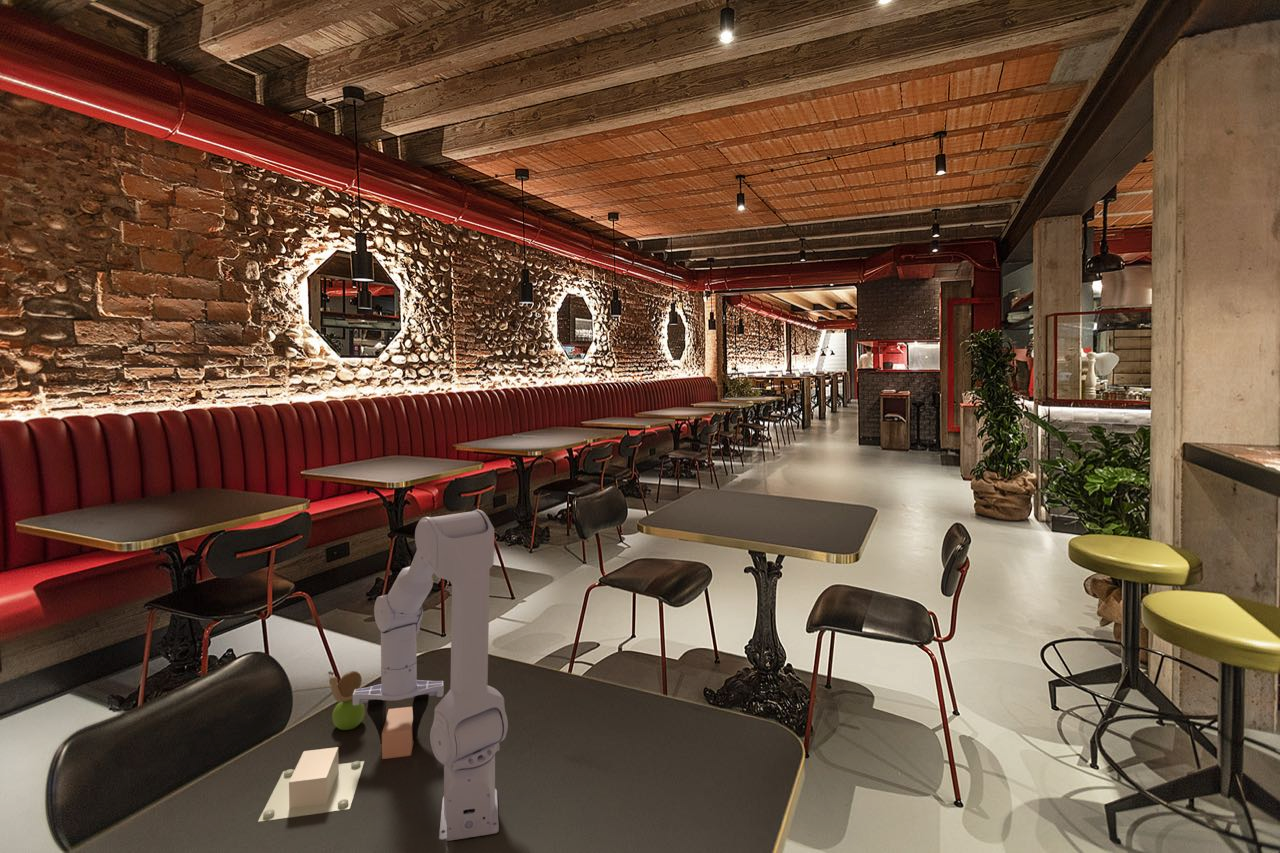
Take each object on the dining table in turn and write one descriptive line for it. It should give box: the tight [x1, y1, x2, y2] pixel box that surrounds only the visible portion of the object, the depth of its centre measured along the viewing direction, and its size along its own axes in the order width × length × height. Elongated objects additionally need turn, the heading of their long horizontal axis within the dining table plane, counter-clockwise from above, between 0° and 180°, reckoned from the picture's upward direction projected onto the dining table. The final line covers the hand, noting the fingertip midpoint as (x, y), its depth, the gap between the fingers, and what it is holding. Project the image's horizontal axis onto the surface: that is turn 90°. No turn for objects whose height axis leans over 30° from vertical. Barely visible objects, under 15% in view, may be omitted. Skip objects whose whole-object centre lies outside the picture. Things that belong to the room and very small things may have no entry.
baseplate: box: [257, 760, 365, 823], centre depth 95 cm, size 12×12×1 cm
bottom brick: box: [289, 746, 340, 809], centre depth 95 cm, size 8×5×4 cm, turn 14°
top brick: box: [381, 706, 414, 760], centre depth 108 cm, size 8×4×5 cm, turn 14°
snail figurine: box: [327, 670, 366, 731], centre depth 113 cm, size 5×6×12 cm
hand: (399, 739), depth 108 cm, fingers closed on top brick, 4 cm apart
